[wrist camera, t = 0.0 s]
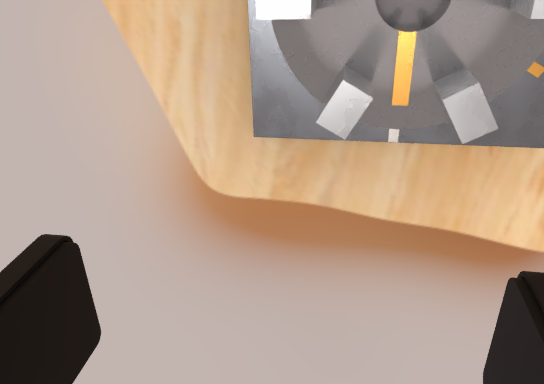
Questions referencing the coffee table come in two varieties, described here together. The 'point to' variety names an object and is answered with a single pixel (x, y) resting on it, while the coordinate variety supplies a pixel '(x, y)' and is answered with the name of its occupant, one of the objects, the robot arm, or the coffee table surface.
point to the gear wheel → (407, 58)
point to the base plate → (302, 125)
